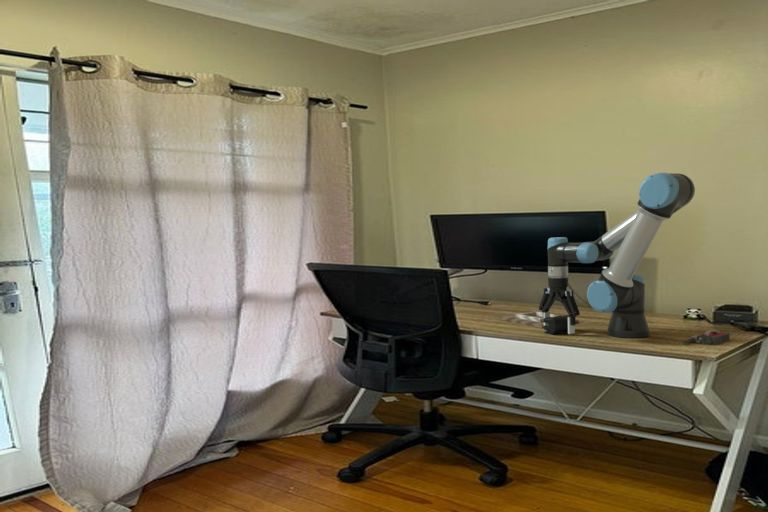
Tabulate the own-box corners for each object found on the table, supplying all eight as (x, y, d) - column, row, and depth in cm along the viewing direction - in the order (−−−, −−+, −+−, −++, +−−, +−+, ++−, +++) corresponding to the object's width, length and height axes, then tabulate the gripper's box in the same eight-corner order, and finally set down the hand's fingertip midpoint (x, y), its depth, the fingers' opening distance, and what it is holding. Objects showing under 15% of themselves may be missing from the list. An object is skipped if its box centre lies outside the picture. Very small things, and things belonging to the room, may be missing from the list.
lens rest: (578, 323, 277) (578, 316, 276) (542, 328, 267) (542, 321, 267) (534, 314, 301) (534, 309, 301) (499, 319, 292) (499, 313, 292)
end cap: (555, 336, 250) (555, 318, 250) (542, 333, 257) (542, 316, 256) (575, 333, 255) (574, 315, 255) (561, 330, 261) (561, 313, 261)
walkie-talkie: (707, 337, 239) (679, 346, 227) (707, 325, 239) (679, 333, 227) (732, 341, 232) (704, 349, 220) (732, 328, 232) (704, 336, 220)
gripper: (529, 275, 264) (530, 327, 265) (573, 280, 242) (574, 336, 243) (543, 274, 267) (544, 325, 269) (588, 278, 245) (589, 334, 246)
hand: (558, 331), depth 256 cm, fingers open, 13 cm apart
